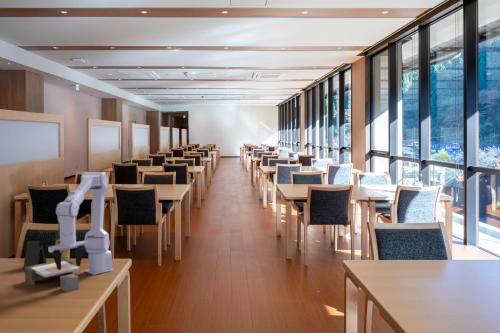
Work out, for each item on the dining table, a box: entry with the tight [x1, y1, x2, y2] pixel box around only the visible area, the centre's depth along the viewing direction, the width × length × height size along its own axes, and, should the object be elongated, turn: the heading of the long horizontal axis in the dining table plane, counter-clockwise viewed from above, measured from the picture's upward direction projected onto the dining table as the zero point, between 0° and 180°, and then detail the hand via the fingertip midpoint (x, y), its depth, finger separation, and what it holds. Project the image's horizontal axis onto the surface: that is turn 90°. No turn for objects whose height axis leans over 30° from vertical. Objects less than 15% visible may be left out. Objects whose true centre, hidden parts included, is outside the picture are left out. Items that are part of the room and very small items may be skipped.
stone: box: [59, 273, 80, 293], centre depth 179 cm, size 5×5×5 cm
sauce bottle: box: [55, 220, 71, 261], centre depth 217 cm, size 6×6×20 cm
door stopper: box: [23, 240, 47, 271], centre depth 210 cm, size 9×6×12 cm, turn 173°
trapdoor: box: [31, 261, 80, 277], centre depth 188 cm, size 14×14×1 cm
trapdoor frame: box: [24, 259, 74, 286], centre depth 192 cm, size 17×8×6 cm, turn 136°
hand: (68, 267), depth 179 cm, fingers open, 7 cm apart
